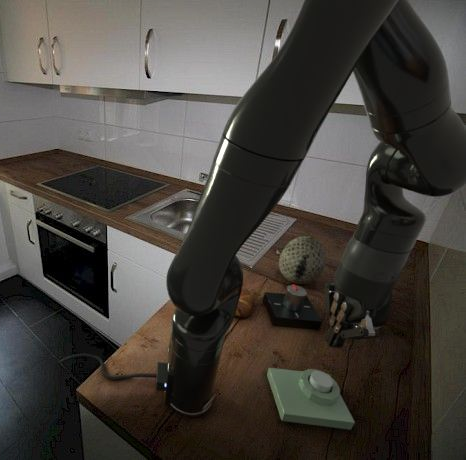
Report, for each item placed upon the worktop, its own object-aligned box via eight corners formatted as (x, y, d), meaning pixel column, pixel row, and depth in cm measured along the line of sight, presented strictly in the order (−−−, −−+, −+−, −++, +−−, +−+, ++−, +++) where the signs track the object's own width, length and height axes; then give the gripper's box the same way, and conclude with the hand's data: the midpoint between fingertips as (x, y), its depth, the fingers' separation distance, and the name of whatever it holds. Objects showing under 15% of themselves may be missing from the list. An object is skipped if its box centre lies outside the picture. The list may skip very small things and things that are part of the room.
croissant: (227, 286, 94) (229, 276, 92) (262, 304, 87) (265, 294, 85) (203, 304, 87) (205, 293, 85) (240, 326, 79) (243, 314, 78)
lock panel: (272, 326, 79) (275, 316, 78) (262, 300, 88) (264, 291, 87) (319, 330, 78) (322, 321, 77) (303, 303, 87) (307, 294, 85)
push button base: (281, 421, 58) (286, 407, 56) (266, 374, 67) (270, 361, 65) (351, 430, 57) (359, 416, 55) (326, 381, 65) (332, 368, 64)
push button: (313, 391, 59) (316, 385, 59) (306, 375, 63) (308, 369, 62) (333, 394, 59) (336, 388, 58) (325, 377, 62) (327, 371, 61)
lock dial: (304, 311, 80) (310, 295, 77) (286, 310, 80) (291, 294, 78) (297, 300, 84) (302, 284, 81) (280, 299, 84) (285, 283, 81)
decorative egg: (277, 265, 104) (289, 225, 97) (318, 277, 98) (333, 235, 91) (271, 284, 95) (284, 241, 88) (316, 297, 89) (332, 252, 82)
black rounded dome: (327, 323, 80) (347, 274, 73) (339, 304, 87) (358, 257, 80) (376, 345, 74) (403, 294, 67) (384, 323, 80) (409, 274, 73)
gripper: (427, 295, 43) (376, 378, 51) (369, 245, 55) (335, 319, 63) (369, 291, 44) (328, 373, 52) (324, 243, 55) (296, 316, 63)
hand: (332, 344), depth 57 cm, fingers closed
